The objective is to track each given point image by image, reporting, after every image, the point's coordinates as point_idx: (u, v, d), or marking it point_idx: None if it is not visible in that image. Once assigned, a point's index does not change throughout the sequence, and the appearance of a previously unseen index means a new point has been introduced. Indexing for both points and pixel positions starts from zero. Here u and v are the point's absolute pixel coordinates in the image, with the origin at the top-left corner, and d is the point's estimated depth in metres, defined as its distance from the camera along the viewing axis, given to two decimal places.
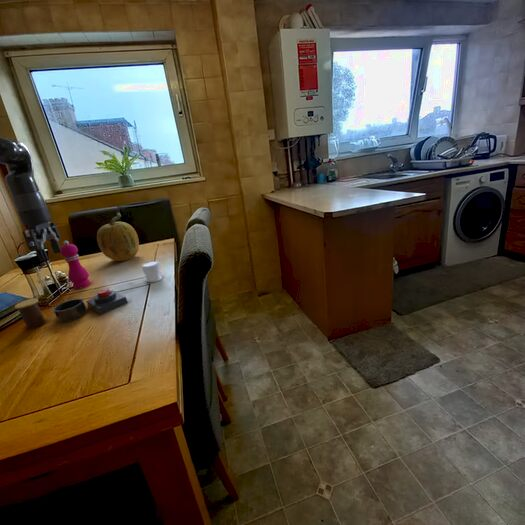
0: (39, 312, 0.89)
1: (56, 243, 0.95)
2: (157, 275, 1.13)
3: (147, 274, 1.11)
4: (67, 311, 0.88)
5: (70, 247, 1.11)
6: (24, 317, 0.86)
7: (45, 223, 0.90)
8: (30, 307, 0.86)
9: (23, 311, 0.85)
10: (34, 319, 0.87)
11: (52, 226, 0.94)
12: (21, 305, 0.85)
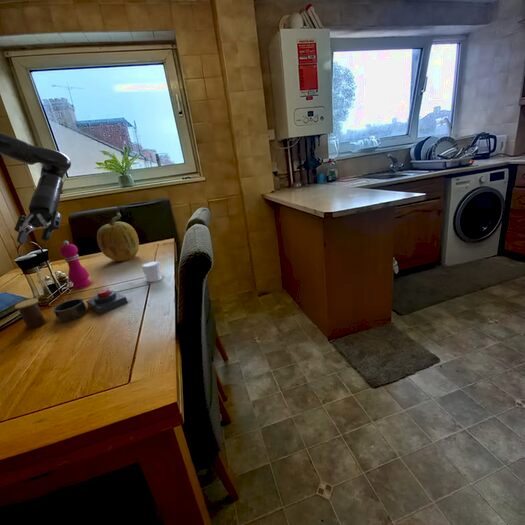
0: (39, 312, 0.89)
1: (26, 235, 0.94)
2: (157, 275, 1.13)
3: (147, 274, 1.11)
4: (67, 311, 0.88)
5: (70, 247, 1.11)
6: (24, 317, 0.86)
7: None
8: (30, 307, 0.86)
9: (23, 311, 0.85)
10: (34, 319, 0.87)
11: None
12: (21, 305, 0.85)
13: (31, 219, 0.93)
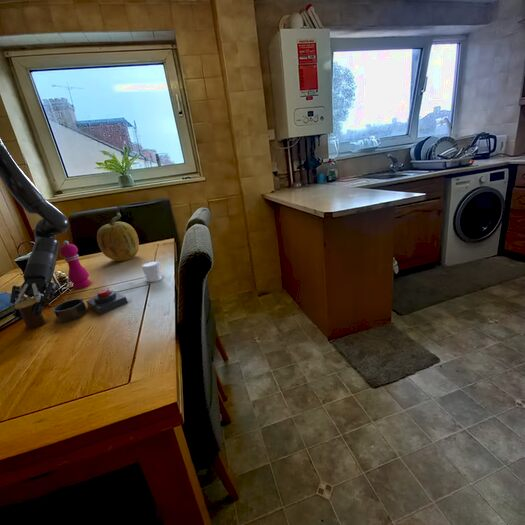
0: None
1: None
2: (157, 275, 1.13)
3: (147, 274, 1.11)
4: (67, 311, 0.88)
5: (70, 247, 1.11)
6: (24, 317, 0.86)
7: None
8: (30, 307, 0.86)
9: (23, 311, 0.85)
10: (33, 319, 0.87)
11: (21, 290, 0.92)
12: (21, 305, 0.85)
13: (26, 289, 0.89)
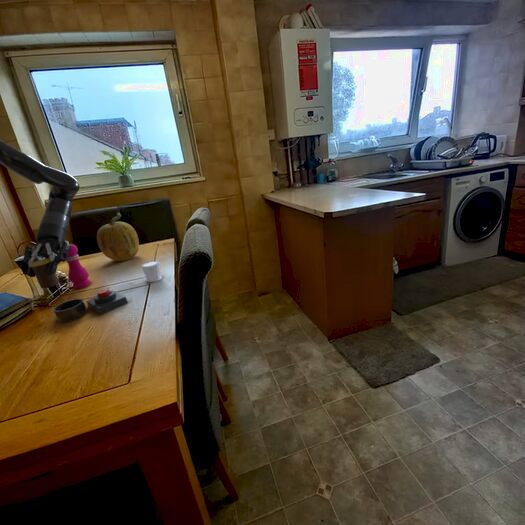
0: None
1: None
2: (157, 275, 1.13)
3: (147, 274, 1.11)
4: (67, 311, 0.88)
5: None
6: (38, 276, 0.84)
7: None
8: (44, 266, 0.84)
9: (37, 269, 0.84)
10: (48, 278, 0.85)
11: None
12: (35, 264, 0.84)
13: (39, 249, 0.87)
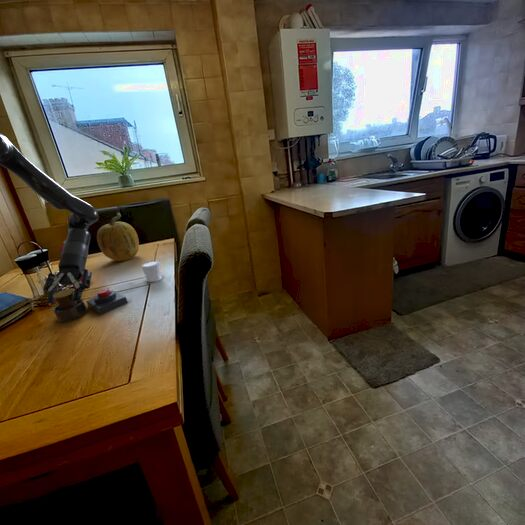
0: (75, 302, 0.92)
1: None
2: (157, 275, 1.13)
3: (147, 274, 1.11)
4: (67, 311, 0.88)
5: None
6: (62, 306, 0.89)
7: None
8: (68, 297, 0.89)
9: (61, 300, 0.88)
10: None
11: (56, 278, 0.94)
12: (59, 295, 0.88)
13: (61, 278, 0.92)
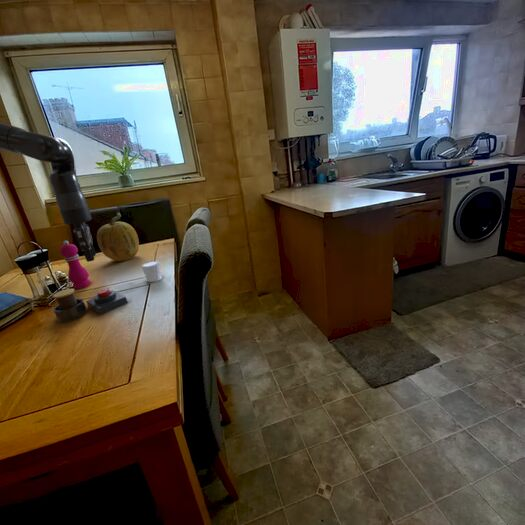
0: (75, 302, 0.92)
1: (91, 246, 0.93)
2: (157, 275, 1.13)
3: (147, 274, 1.11)
4: (67, 311, 0.88)
5: (70, 247, 1.11)
6: (62, 306, 0.89)
7: (84, 223, 0.89)
8: (68, 297, 0.89)
9: (61, 300, 0.88)
10: None
11: None
12: (59, 295, 0.88)
13: None
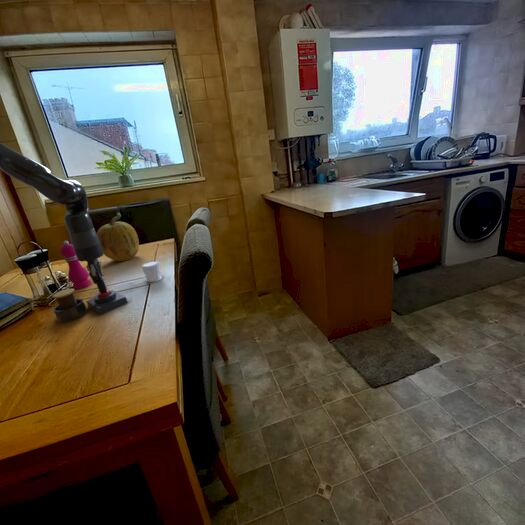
0: (75, 302, 0.92)
1: None
2: (157, 275, 1.13)
3: (147, 274, 1.11)
4: (67, 311, 0.88)
5: (70, 247, 1.11)
6: (62, 306, 0.89)
7: (96, 257, 0.93)
8: (68, 297, 0.89)
9: (61, 300, 0.88)
10: None
11: None
12: (59, 295, 0.88)
13: None
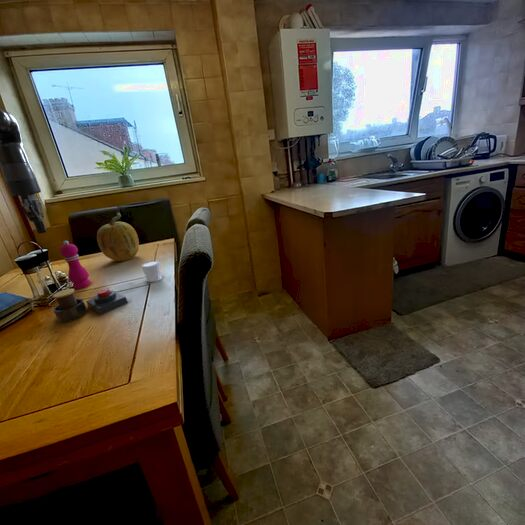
0: (75, 302, 0.92)
1: None
2: (157, 275, 1.13)
3: (147, 274, 1.11)
4: (67, 311, 0.88)
5: (70, 247, 1.11)
6: (62, 306, 0.89)
7: (33, 195, 0.90)
8: (68, 297, 0.89)
9: (61, 300, 0.88)
10: None
11: None
12: (59, 295, 0.88)
13: None
